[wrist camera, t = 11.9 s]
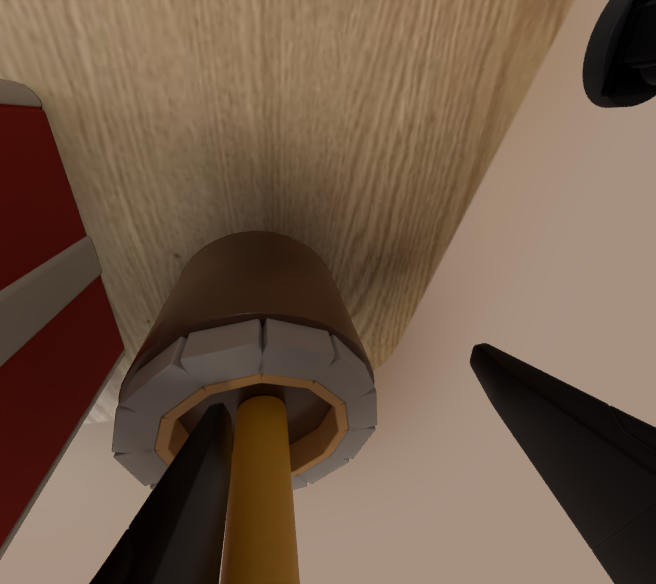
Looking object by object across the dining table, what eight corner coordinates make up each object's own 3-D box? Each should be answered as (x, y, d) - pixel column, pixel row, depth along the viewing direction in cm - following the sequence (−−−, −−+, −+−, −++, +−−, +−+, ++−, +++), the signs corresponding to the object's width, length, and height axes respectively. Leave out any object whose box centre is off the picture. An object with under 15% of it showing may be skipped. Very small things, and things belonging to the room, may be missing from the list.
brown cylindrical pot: (326, 217, 19) (372, 285, 11) (341, 343, 25) (376, 443, 17) (146, 248, 18) (49, 351, 10) (210, 372, 24) (183, 495, 16)
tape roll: (363, 295, 11) (375, 317, 10) (370, 441, 17) (378, 466, 16) (68, 356, 10) (40, 390, 9) (188, 490, 16) (181, 521, 15)
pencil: (281, 389, 13) (301, 705, 6) (289, 418, 14) (314, 705, 7) (230, 401, 13) (188, 746, 6) (244, 429, 14) (223, 738, 7)
